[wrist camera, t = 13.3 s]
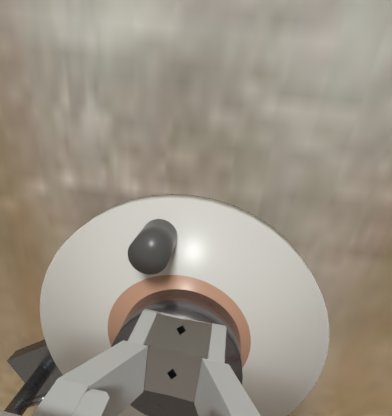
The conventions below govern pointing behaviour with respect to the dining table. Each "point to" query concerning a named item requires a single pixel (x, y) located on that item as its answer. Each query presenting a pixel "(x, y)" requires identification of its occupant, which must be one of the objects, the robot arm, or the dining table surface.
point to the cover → (192, 309)
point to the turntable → (191, 289)
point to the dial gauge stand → (33, 376)
